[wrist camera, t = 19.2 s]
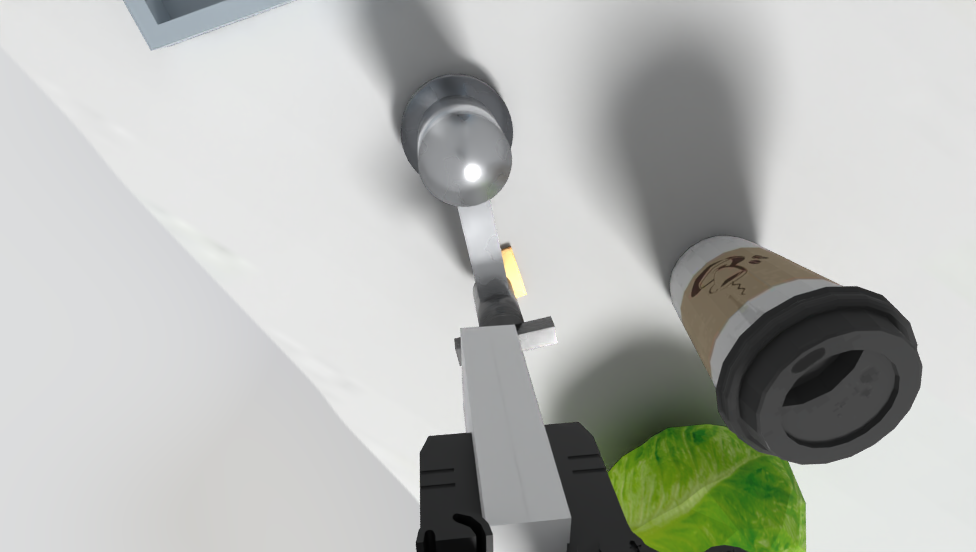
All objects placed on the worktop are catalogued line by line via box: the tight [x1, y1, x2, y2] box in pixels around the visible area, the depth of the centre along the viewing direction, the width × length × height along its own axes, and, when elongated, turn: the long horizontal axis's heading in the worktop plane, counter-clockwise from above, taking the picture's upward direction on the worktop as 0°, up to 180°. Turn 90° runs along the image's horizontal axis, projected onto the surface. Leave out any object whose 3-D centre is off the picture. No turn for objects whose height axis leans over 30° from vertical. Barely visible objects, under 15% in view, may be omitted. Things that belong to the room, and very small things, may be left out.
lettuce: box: [608, 424, 806, 552], centre depth 47 cm, size 15×20×14 cm
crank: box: [417, 95, 558, 366], centre depth 35 cm, size 15×6×8 cm, turn 12°
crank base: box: [401, 74, 527, 298], centre depth 39 cm, size 16×7×1 cm, turn 18°
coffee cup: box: [669, 236, 922, 465], centre depth 38 cm, size 11×11×15 cm
